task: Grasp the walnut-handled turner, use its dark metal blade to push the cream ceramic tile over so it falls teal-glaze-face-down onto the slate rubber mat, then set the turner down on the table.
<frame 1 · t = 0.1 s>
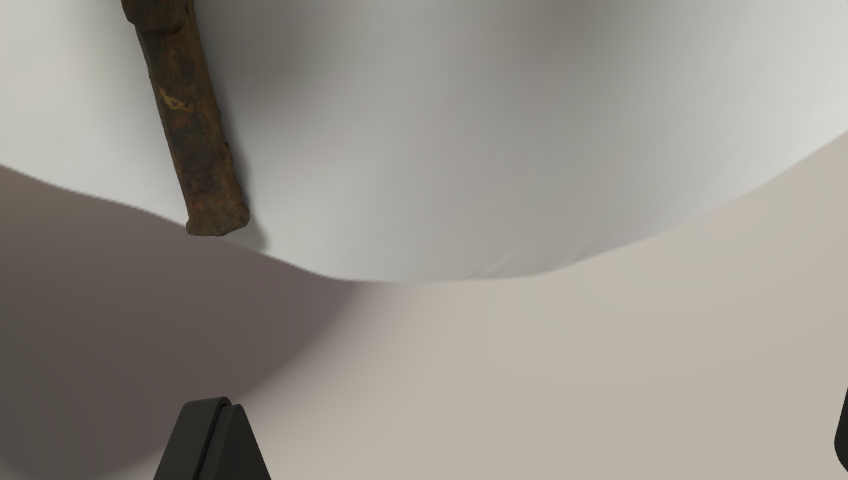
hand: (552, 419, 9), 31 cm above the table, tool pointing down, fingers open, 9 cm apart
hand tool: (183, 73, 37), on the table
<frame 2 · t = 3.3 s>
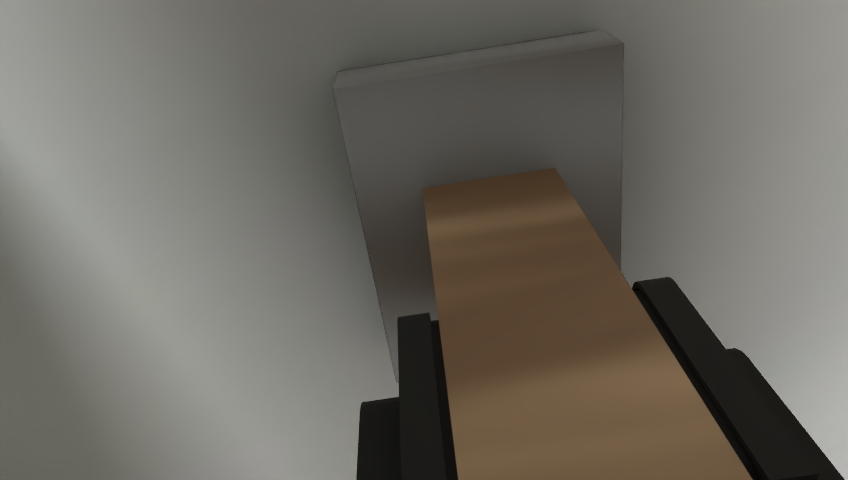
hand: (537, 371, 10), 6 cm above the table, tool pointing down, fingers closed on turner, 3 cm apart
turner: (485, 208, 16), on the table, touching gripper
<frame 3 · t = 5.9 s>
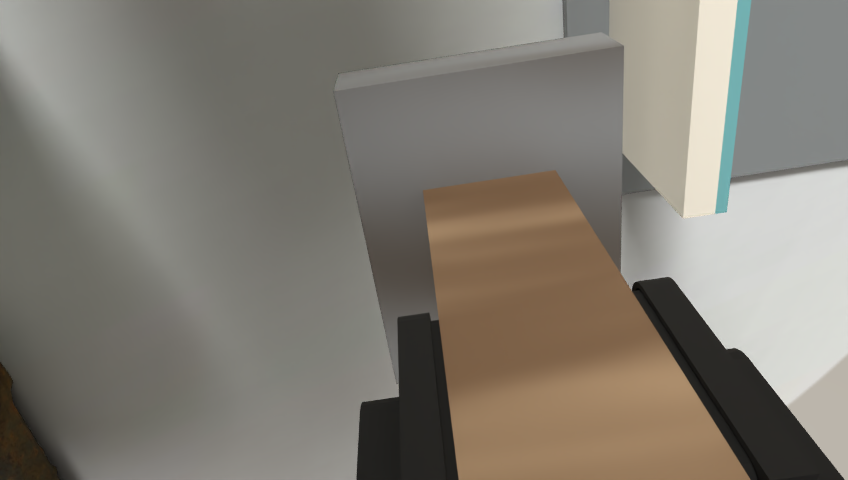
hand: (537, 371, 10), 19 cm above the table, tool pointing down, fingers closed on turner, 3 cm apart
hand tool: (17, 431, 36), on the table
tile: (626, 46, 26), point 1 cm above the table, touching mat
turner: (485, 210, 16), point 13 cm above the table, touching gripper
mat: (737, 25, 26), on the table
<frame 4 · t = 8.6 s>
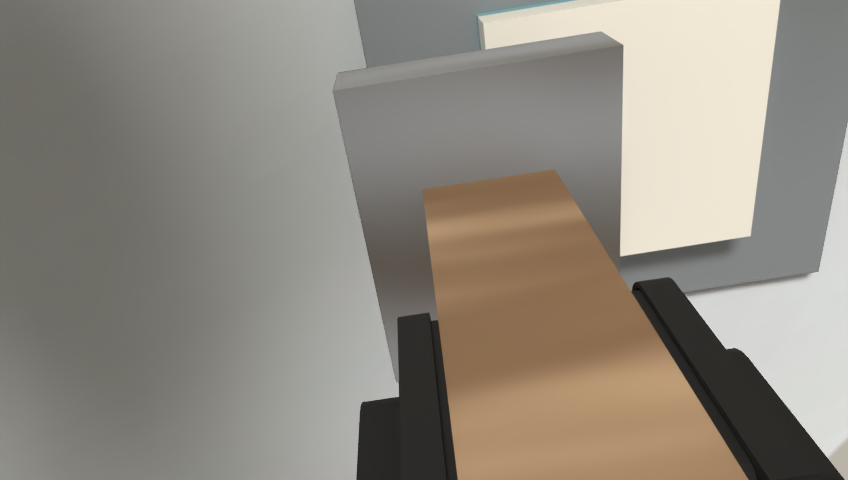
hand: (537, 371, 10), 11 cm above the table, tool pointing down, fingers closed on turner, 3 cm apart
tile: (492, 152, 19), point 1 cm above the table, tilted 90°, touching mat
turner: (485, 209, 16), point 5 cm above the table, touching gripper
mat: (611, 118, 20), on the table
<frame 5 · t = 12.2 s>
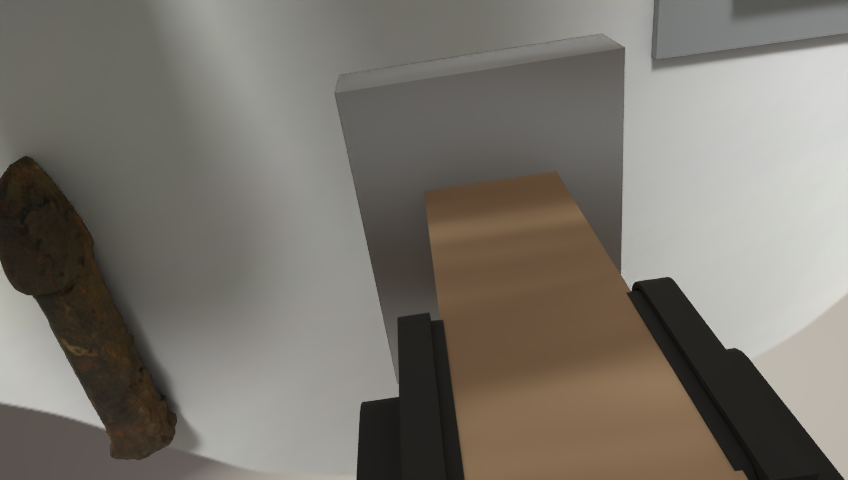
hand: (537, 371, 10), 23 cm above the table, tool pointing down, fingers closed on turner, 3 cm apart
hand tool: (95, 301, 37), on the table
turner: (486, 210, 16), point 17 cm above the table, touching gripper
when the fingers open (8 cm above the table, at t = 15.5 s): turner drops 1 cm, on the table.
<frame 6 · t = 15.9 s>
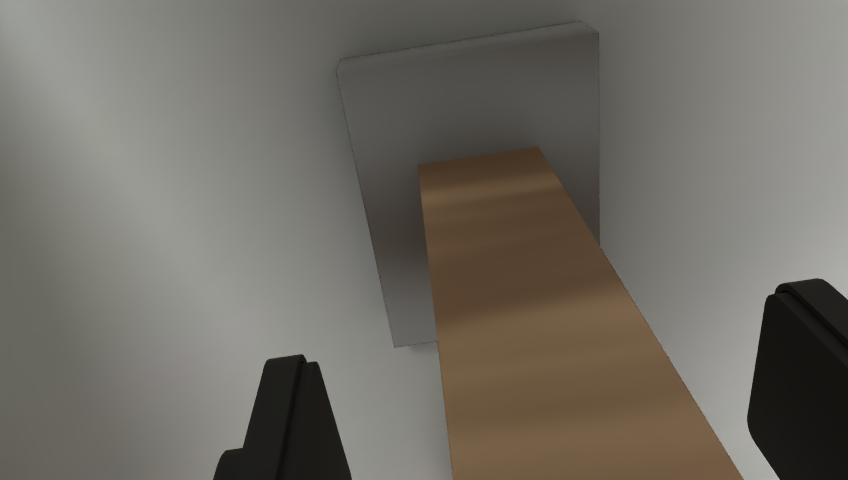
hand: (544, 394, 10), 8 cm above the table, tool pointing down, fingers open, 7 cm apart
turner: (476, 186, 17), on the table
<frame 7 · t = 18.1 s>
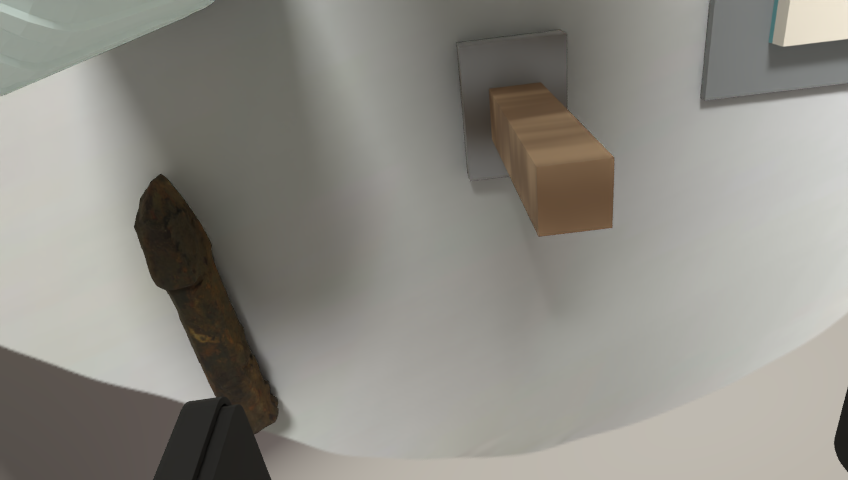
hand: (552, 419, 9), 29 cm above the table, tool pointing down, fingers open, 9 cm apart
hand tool: (209, 298, 43), on the table
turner: (511, 104, 37), on the table
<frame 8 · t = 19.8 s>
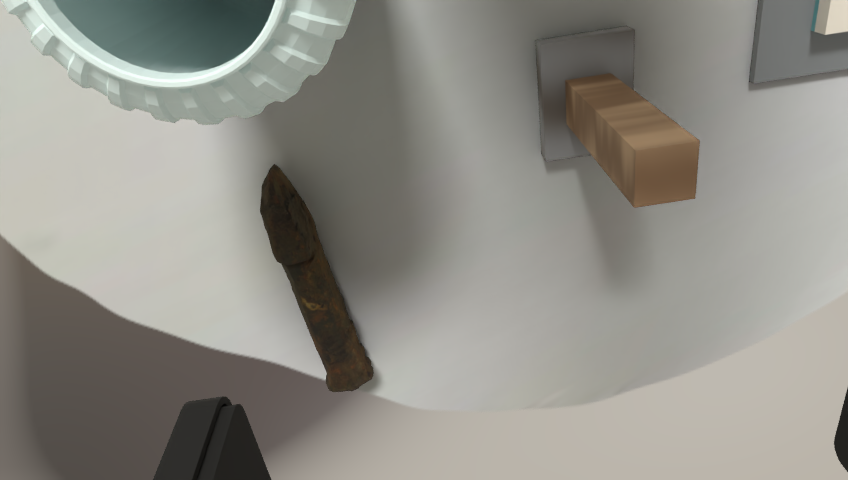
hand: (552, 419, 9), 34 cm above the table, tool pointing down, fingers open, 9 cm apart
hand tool: (311, 272, 48), on the table
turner: (581, 92, 42), on the table
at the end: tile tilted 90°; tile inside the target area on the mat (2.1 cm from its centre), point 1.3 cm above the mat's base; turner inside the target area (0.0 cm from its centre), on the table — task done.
